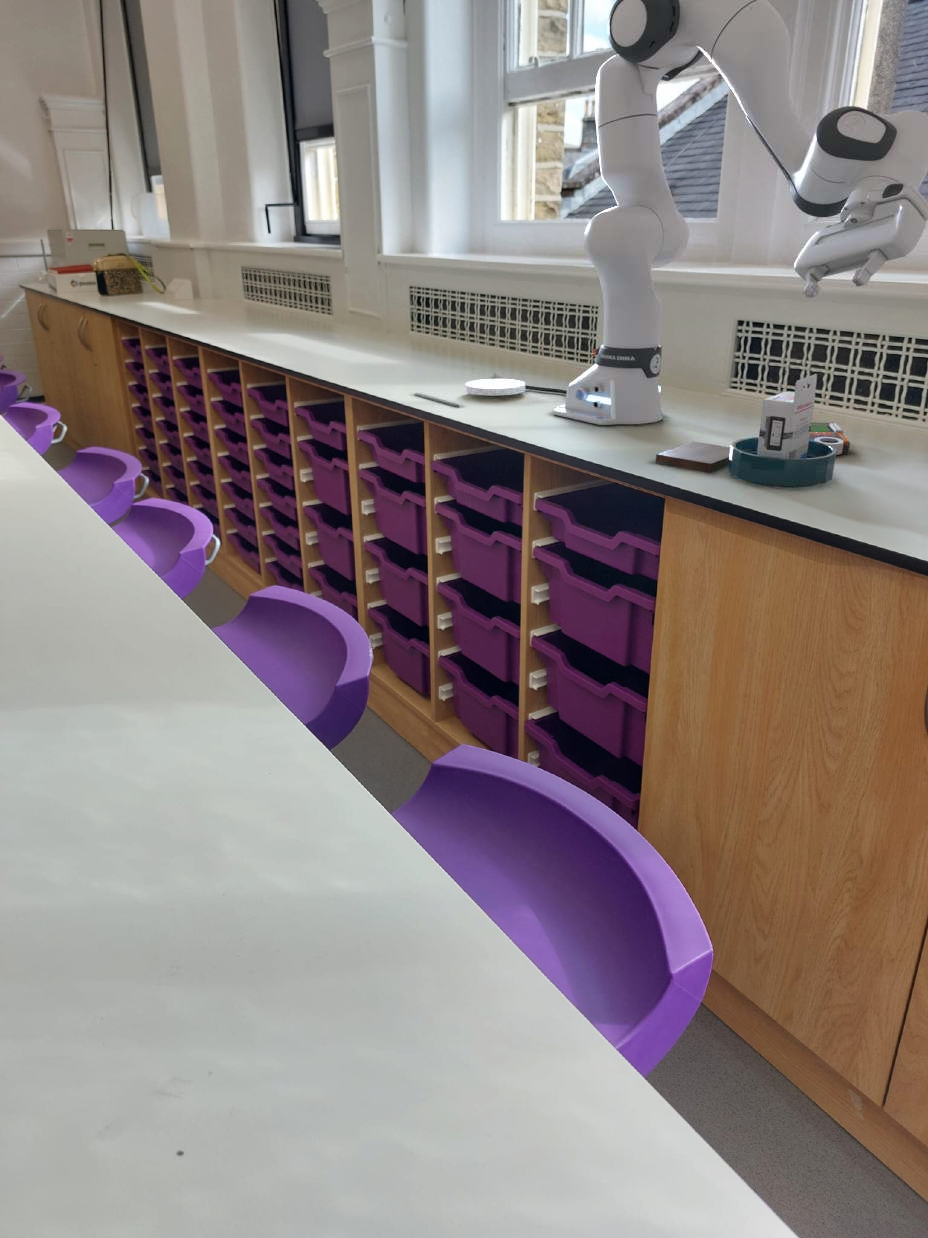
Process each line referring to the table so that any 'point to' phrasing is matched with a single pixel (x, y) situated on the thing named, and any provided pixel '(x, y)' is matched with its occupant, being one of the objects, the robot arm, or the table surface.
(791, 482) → the bowl
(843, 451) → the electronic device
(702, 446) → the walnut board
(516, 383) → the plastic lid
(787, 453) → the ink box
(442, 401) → the rod
